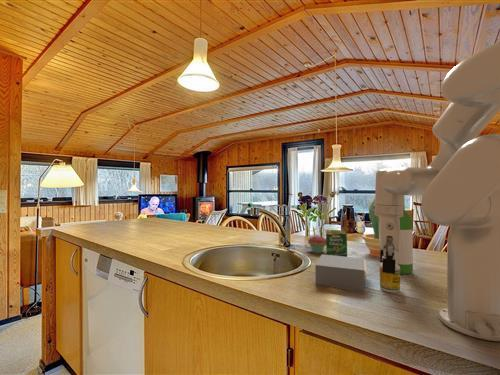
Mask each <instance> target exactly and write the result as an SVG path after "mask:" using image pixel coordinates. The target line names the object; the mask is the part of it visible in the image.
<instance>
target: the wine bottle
mask: <svg viewBox="0 0 500 375" xmlns="http://www.w3.org/2000/svg"><path fill="white" fill-rule="evenodd" d="M405 209H406V208H405V205H404V206H403V217H399V219H400V251H399V252H397V250H395V257H397V261H398V262H397V263H396V264H398V265H399V266H400V275H409V274H412V273H413V270H414V246H413V245H414V244H413V242H414V241H413V236H414V234H413V229H414V228H413V218H412V216H411V214H410V213H409V212H407V210H405Z"/></svg>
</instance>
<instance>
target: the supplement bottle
mask: <svg viewBox="0 0 500 375" xmlns="http://www.w3.org/2000/svg"><path fill="white" fill-rule="evenodd" d="M383 258H384V256H382V261H383ZM395 260H396V261H395V274H391V273H384V272H382V262H380V264H379V288H380V290H382V291H384V292H388V293H392V294H393V293H396V294H397V293H399V292H400V291H401V274H400V266H399V265H398V264H396V263H397V262H398V261H397V257H395Z"/></svg>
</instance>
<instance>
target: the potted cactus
mask: <svg viewBox="0 0 500 375" xmlns="http://www.w3.org/2000/svg"><path fill="white" fill-rule="evenodd" d="M368 216H369V217H368V218H369V219H370V222H371V225H372V230H373V233H364V234H362V235H361V237H362V240H363V241H364V242H365V246H366V248H367V249H368V250H369V254H370V255H371V256H374V257H379V258H380V249H381V247H380V242H379V216H377V215H375V198H373V200H372V202H371V203H370V205H369V206H368ZM381 250H382V249H381Z"/></svg>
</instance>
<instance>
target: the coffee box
mask: <svg viewBox="0 0 500 375" xmlns="http://www.w3.org/2000/svg"><path fill="white" fill-rule="evenodd" d="M347 232H348V231H347V229H345V230H344V229H342V230H341V229H340V230H339V229H326V230H325V239H326V245H325V247H326V248H325V249H326V255H333V256H344V257H348V238H347V237H348V233H347Z"/></svg>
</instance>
